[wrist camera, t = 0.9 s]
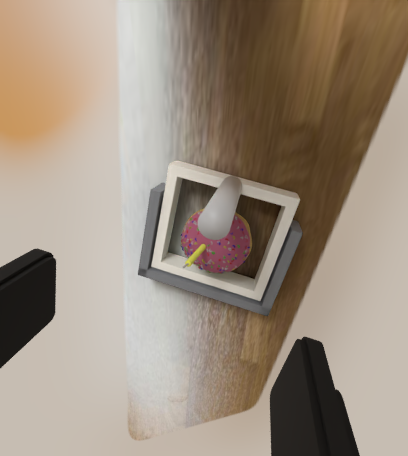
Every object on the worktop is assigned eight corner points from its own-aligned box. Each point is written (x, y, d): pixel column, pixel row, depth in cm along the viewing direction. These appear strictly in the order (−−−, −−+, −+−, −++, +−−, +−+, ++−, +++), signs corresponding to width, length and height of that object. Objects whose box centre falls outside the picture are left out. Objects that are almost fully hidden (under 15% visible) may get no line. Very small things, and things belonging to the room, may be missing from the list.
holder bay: (162, 182, 36) (150, 189, 32) (298, 221, 34) (302, 233, 31) (148, 261, 41) (137, 274, 37) (267, 298, 39) (267, 316, 36)
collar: (177, 155, 34) (116, 180, 20) (298, 188, 32) (327, 240, 18) (158, 256, 40) (101, 331, 26) (260, 288, 38) (259, 386, 24)
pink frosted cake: (188, 249, 39) (159, 299, 28) (193, 192, 36) (163, 223, 25) (248, 260, 38) (242, 316, 27) (258, 201, 34) (257, 239, 23)
